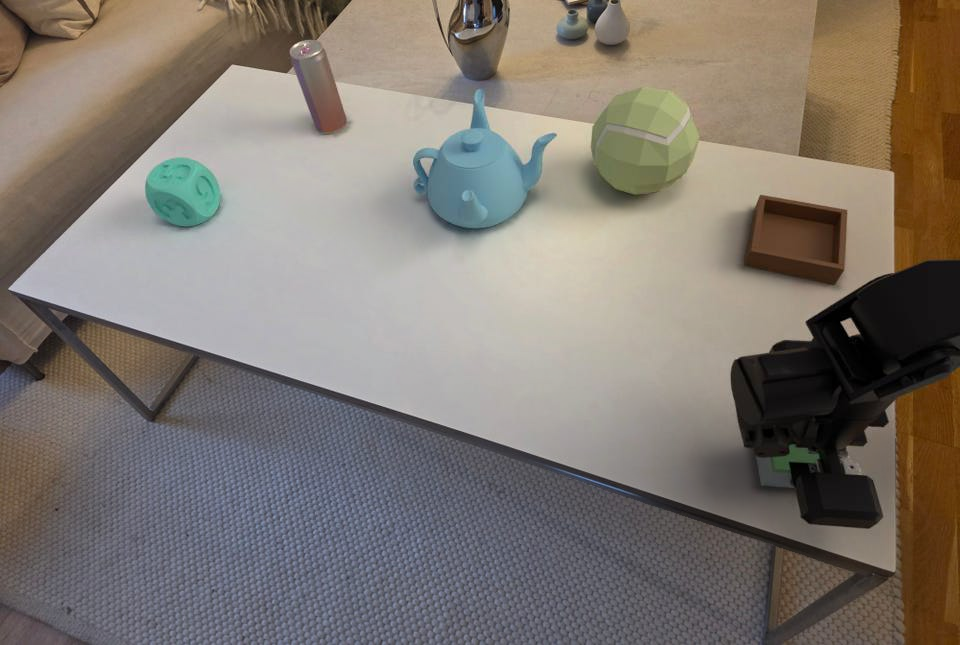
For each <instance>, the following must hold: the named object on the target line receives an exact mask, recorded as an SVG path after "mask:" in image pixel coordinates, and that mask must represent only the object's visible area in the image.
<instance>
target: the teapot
mask: <svg viewBox="0 0 960 645" xmlns="http://www.w3.org/2000/svg"><path fill="white" fill-rule="evenodd" d="M472 105H473V106H472V114H471V115H472V116H471V122H470V128H467V129H466V128H465V129H463V130H460V131H459V130H458V131H457V132H455V133H453V134H451V135H450V136H448V138H447V139H446V140H445V141H444V142H443V143H442V144H441V146H440V148H439V149H437V148H434V147H423V148H421V149H419V150H418V151H417V152H416V153H415V155H414V156H413V159H412V163H413V168H414V171H415V173H416V175H417V177H418V178H416V179H415V180H414V182H413V190H414V191H415V193H417V194H419V195H423V196H425V195H427V198H428V202H429V205H430V206H431V208H432V209H433V211H434V213H435V214H437V216H439V217H440V218H441V219H443V220H444V221H446V222H448V223H450V224H452V225H454V226H458V227H460V228H465V229H485V228H490V227H493V226H496V225H497V226H498V225H499V224H502V223H503V222H505V221H506V220H508V219H510V218H511V217H512V216H513V215H514V214H516V213H517V212H518V211H519V210H520V209H521V207H522V206H523V205H524V202H525V201H526V198H527V196H528V193H529V191H530V190H531V189H533V188H534V187H535V186H536V185H537V184H538V183H539V181H540V179H541V176H542V172H543V158H544V152H545V149H546V147H547V146H548V144H550V143H551V142H552V141H553V140H554V139H556V137H557V136H558V135H557V133H556V132H550V133H547V134H544V135H542V136H540V137H539V138H537V139H536V140H535V142H534V143H533V145H532V148H531V155H530V159H529V160H528V162H526V163H525V164H523V162H522V160H521V157H520V156H519V155H518V153H517V151H516V150H515V149H514V148H513V146H512V145H511V144H509V142H508V141H507V140H506V139H504V137H502V136H501V135H500V134H498V133H497V132H495V131H493V130H492V129H491V127H490V123H489V120H488V117H487V113H486V109H485V92H484V89H482V88H478V89H476V91H475V93H474V96H473V104H472ZM422 159H433V160H432V163H431V165H430V167H429V168H430V169H429V172H428V174H427V173H426V171H425V169H424V167H423V165H422V162H421V160H422Z"/></svg>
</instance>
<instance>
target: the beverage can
mask: <svg viewBox="0 0 960 645" xmlns="http://www.w3.org/2000/svg"><path fill="white" fill-rule="evenodd" d="M289 55H290V62H291V64H292V68H293V71H294V72H295V75H296V78H297V81H298V84H299V86H300V89H301V91H302V95H303V97H304V101H305V102H306V105H307V108H308V111H309V114H310V117H311V119H312V122H313V124H314V128H315V129H316V130H317V131H318V132H319V133H322V134H325V135H326V134H327V135H330V134H331V135H332V134H335V133H339V132H341V130H343V129H344V128H345V126H346V125H347V124H346V123H347V116H346V112H345V109H344V105H343V102H342V99H341V95H340V93H339V90H338V87H337V86H338V85H337V83H336V80H335V77H334V73H333V71H332V68H331V64H330V61H329V58H328V54H327V51H326V49H325V48H324V46H323V43H322V42H321V41H319V40H316V39H306V40H305V39H304V40H301V41H299V42H296V43H294V44H293V45H292V46H291V47H290V49H289Z"/></svg>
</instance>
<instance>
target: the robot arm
mask: <svg viewBox="0 0 960 645" xmlns="http://www.w3.org/2000/svg"><path fill="white" fill-rule="evenodd" d="M849 319H850V320H851V322H852V323H853V325H854V327H856V329H857V331H858V333H857V334H853V335H850V336H849V334H848V332H847V330H846V328H845V327H844V325H843V324H842V322H845V321H846V320H849ZM805 325H806V327H807V329H808V330H809V332H810V335H811V336H812V339H811V340H799V339H798V340H797V339H783V340H780V341H778V342H776V343H774V344H773V345H772V346H771V348H770V350H769V351H768V352H764V353H758V354H757V353H756V354H750V355H744V356H740V357H738V358H735V359H733V362H732V364H731V366H730V367H731V368H730V388H731V393H732V397H733V400H734V406H735V412H736V419H737V424H738V429H739V433H740V436H741V439H742V445H743V447H744V448H745V449H746V448H747V449H753V453H754V456H755V457H756V456H757V457H760V458H767V457H782V456H786V455H788V454H789V453H790V450H789V446H790V445H794V444H795V447H797V448H807V452H808V453H809V454H819V458H820V459H816V460H815V461H814V463H802V462H789V466H790V471H791V476H792V478H791V481H790V484H791V485H792V486H794V487H795V488H794V489H795V495H796V499H797V505H798V509H799V514H800V518H801V519H802V520H803V521H805V522H806V523H807V524H808V525H813V526H828V527H839V528H841V527H842V528H853V529H854V528H855V529H864V530H865V529H866V530H870V529H871V528H873V527H875V526H876V525H877V524H879V523H880V522H881V521H882V519H883V518H884V517H885V516H884V513H883V509H882V505H881V503H880V499H879V495H878V491H877V489H876V485H875V481H874V479H873V478H871V477H870V476H868V475H866V474H863V473H862V470H861V467H860V465H859V463H858V462H857V461H855V460H853V459H851V458H850V455H849V452H848V451H849V450H848V448H847V447H862V448H863V447H864V446H866V445H867V444H868V438H867V435H866V432H865V430H866V429H868V428H870V427H871V428H885V427H886V426H887V425H888V424H889V423H890V420H889V417H888V415H887V411H886V410H887V409H888V408H889V407H890V406H891V405H892V404H893V403H894V402H895V401H896V400H897V399H898V398H900V397H902V396H905V395H908V394H910V393H912V392H915V391H917V390H920V389H922V388H925V387H927V386H930V385H932V384H934V383H937V382H940V381H942V380H945V379H947V378H948V377H949V376H950V375H952V374H953V372H955V371H956V370H958V369H959V368H960V258H956V259H955V258H954V259H927V260H923V261H921V262H918V263H916V264H913V265H911V266H908V267H905V268H903V269H901V270H898V271H895V272H891V273H886V274H882V275H880V276H876V277H875V278H873V279H871V280H869V281H868V282H866V283H865V284H863V285H861V286H860V287H858V288H857V289H855V290H853V291H851V292H849V293H848V294H846V295H845V296H843V297H842V298H840V299H838V300H837V301H835V302H834V303H832V304H831V305H829V306H827V307H826V308H824V309H823V310H821V311H819V312H818V313H816V314H815V315H813V316H812V317H810V318H808V319H807V320H805Z"/></svg>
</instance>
